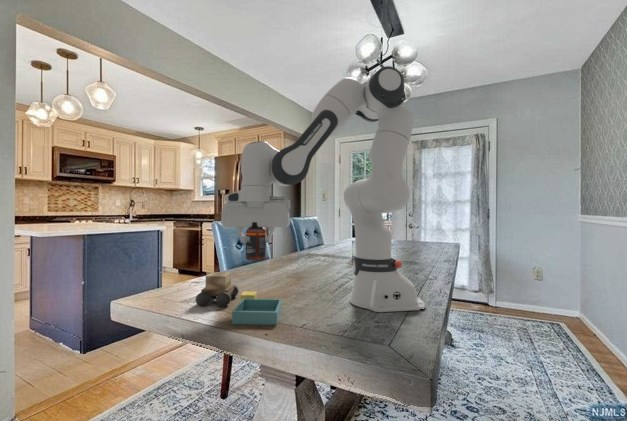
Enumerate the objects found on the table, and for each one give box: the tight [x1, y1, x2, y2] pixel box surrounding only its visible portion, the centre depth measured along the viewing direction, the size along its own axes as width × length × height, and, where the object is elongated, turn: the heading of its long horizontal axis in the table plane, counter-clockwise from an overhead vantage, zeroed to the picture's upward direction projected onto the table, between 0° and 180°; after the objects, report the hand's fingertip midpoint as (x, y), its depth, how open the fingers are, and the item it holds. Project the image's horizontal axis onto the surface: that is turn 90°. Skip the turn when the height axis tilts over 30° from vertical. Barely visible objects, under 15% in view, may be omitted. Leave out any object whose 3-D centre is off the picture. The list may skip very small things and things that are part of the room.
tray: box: [231, 298, 283, 326], centre depth 81 cm, size 11×11×3 cm
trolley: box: [195, 271, 240, 308], centre depth 94 cm, size 10×10×8 cm
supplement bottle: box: [245, 222, 267, 262], centre depth 91 cm, size 6×6×11 cm
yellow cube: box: [240, 290, 258, 301], centre depth 90 cm, size 4×4×4 cm
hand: (255, 242), depth 91 cm, fingers closed on supplement bottle, 6 cm apart
